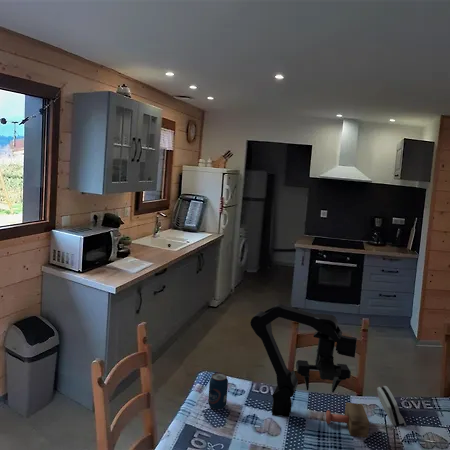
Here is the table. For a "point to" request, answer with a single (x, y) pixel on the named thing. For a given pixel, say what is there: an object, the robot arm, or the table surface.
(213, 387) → the soda can
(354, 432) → the block
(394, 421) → the white curved piece
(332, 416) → the pin
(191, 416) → the table surface
